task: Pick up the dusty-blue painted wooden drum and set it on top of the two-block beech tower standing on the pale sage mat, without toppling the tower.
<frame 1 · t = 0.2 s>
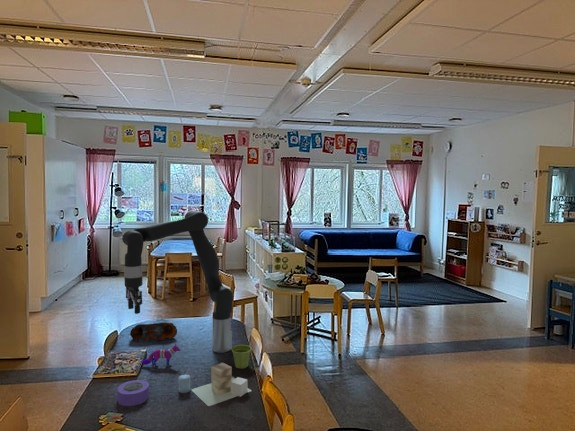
hand: (134, 311, 183), 29 cm above the table, tool pointing down, fingers open, 8 cm apart
tower top: (221, 378, 171), point 5 cm above the table, touching tower base
plant pot: (241, 366, 194), on the table
tower base: (221, 390, 171), resting on mat, touching tower top
mat: (221, 391, 171), on the table
dark brown rounded piece: (155, 336, 232), on the table
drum: (184, 391, 171), on the table
toy dog: (161, 366, 194), on the table
tape roll: (133, 399, 164), on the table
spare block: (239, 392, 169), resting on mat
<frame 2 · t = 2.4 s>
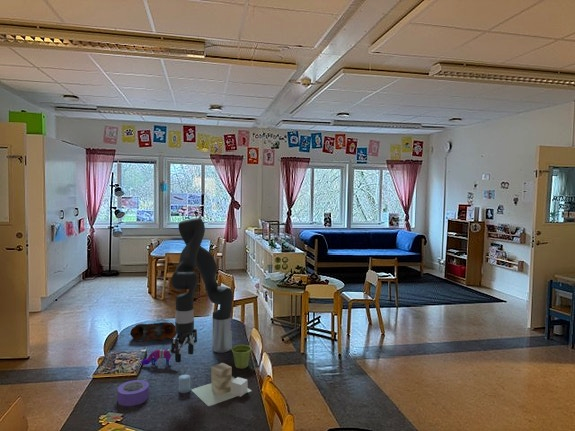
hand: (184, 358, 169), 14 cm above the table, tool pointing down, fingers open, 8 cm apart
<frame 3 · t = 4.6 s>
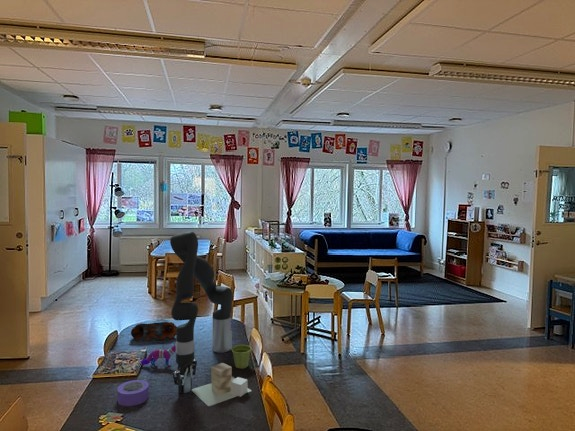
hand: (185, 389, 171), 1 cm above the table, tool pointing down, fingers closed on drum, 4 cm apart
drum: (184, 390, 171), on the table, touching gripper
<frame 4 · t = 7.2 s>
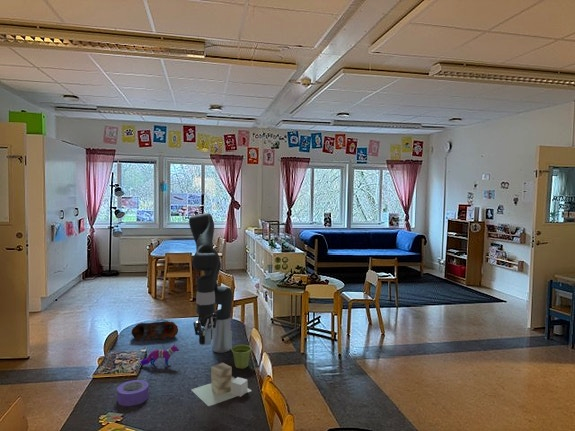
hand: (205, 341, 169), 21 cm above the table, tool pointing down, fingers closed on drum, 4 cm apart
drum: (205, 342, 169), point 21 cm above the table, touching gripper
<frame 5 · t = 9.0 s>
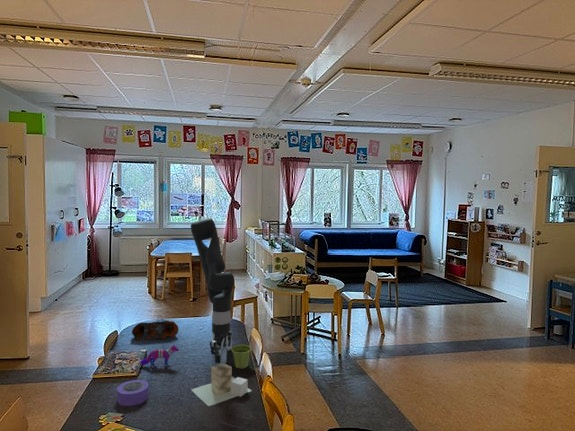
hand: (221, 360, 170), 13 cm above the table, tool pointing down, fingers closed on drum, 4 cm apart
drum: (220, 361, 170), point 13 cm above the table, touching gripper
when the fingers open (12 cm above the table, at t = 10.1 s): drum stays where it is, resting on tower top.
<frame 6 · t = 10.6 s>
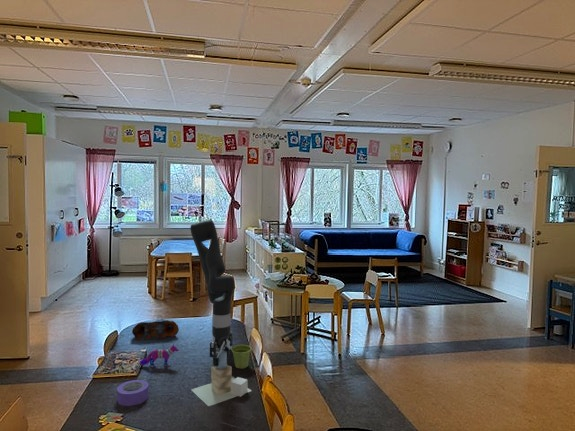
hand: (221, 361, 170), 13 cm above the table, tool pointing down, fingers open, 8 cm apart
tower top: (221, 378, 171), point 5 cm above the table, touching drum, tower base
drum: (220, 366, 170), point 10 cm above the table, touching tower top
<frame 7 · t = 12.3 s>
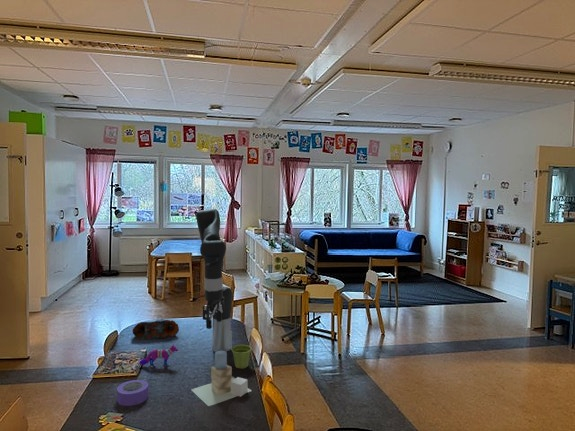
hand: (214, 324, 174), 27 cm above the table, tool pointing down, fingers open, 8 cm apart
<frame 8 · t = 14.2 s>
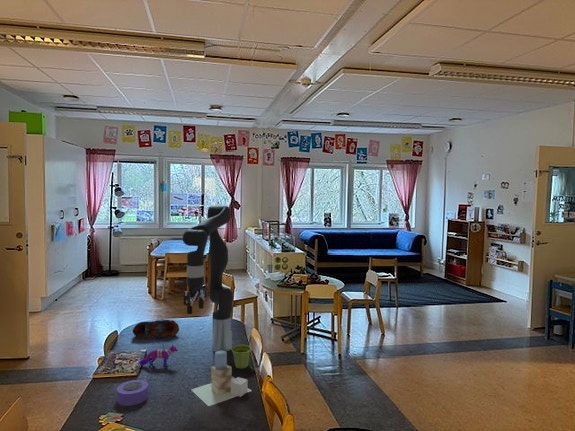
hand: (195, 311, 181), 30 cm above the table, tool pointing down, fingers open, 8 cm apart
at the end: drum 0.2 cm off-centre on the tower base, point 10.0 cm above the tower base's base; tower top tilted 0°; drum tilted 0° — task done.
